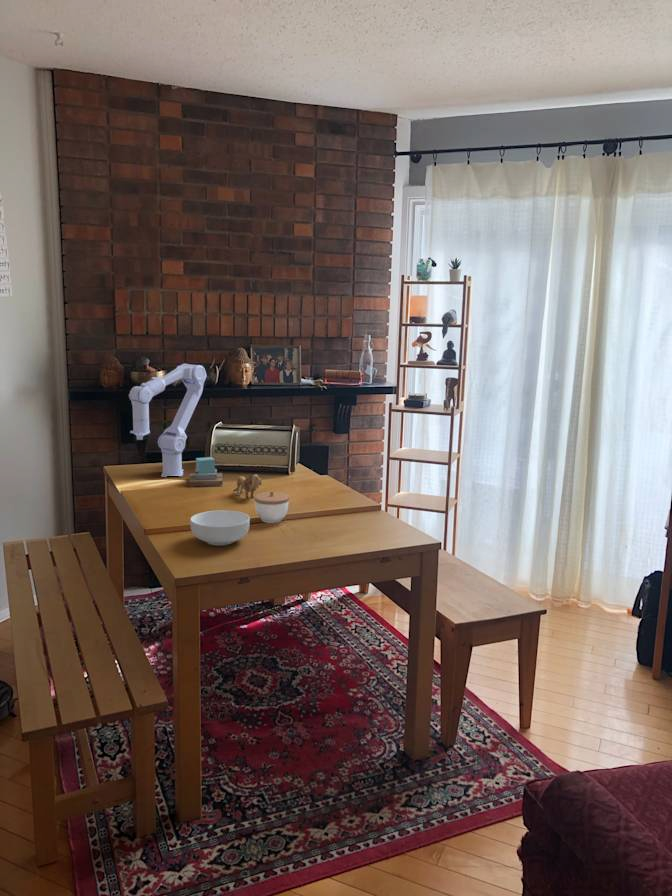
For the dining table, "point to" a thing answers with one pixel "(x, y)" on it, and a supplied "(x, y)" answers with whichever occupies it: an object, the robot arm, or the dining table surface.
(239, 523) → the cereal bowl
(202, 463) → the teal brick
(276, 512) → the lidded jar
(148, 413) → the robot arm
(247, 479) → the lion figurine
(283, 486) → the dining table surface
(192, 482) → the tower base
